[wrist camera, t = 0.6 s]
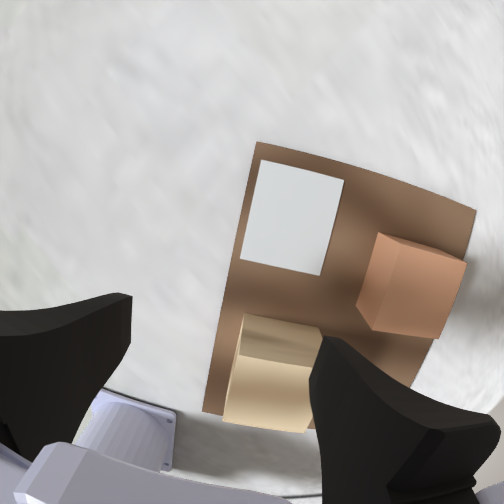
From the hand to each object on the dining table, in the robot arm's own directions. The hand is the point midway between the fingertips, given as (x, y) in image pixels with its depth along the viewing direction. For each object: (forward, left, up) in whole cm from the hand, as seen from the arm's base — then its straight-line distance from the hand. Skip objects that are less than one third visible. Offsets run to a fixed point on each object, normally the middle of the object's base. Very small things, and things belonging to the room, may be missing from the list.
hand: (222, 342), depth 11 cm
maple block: (-5, -3, -8) cm, 10 cm away
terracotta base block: (+2, -10, -8) cm, 13 cm away
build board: (-2, -7, -9) cm, 12 cm away
